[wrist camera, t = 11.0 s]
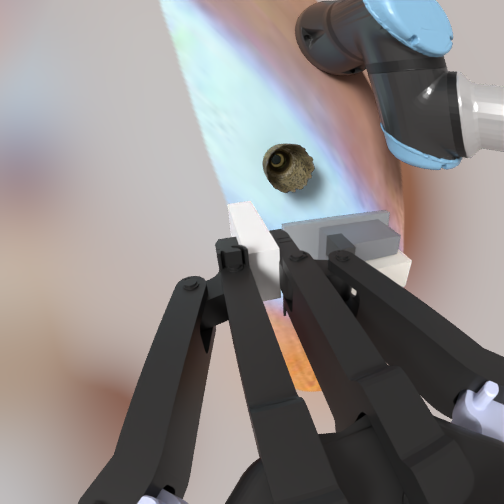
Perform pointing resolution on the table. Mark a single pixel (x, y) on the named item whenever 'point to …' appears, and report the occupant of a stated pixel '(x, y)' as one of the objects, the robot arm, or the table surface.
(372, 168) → the table surface
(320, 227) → the guide
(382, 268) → the peg
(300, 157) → the cup
